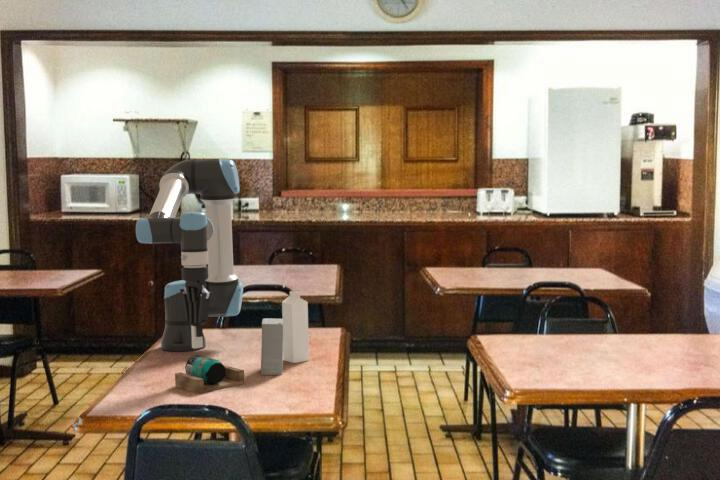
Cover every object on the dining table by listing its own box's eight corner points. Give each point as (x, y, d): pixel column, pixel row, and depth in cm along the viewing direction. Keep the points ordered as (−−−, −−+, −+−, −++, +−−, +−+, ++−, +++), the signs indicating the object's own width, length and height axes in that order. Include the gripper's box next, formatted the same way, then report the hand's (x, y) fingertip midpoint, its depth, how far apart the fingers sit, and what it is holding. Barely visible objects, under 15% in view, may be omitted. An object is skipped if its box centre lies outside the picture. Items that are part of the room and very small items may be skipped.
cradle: (175, 386, 246) (175, 373, 246) (221, 376, 257) (220, 364, 257) (198, 393, 238) (197, 380, 238) (244, 383, 249) (244, 370, 249)
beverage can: (208, 367, 256) (231, 374, 247) (191, 383, 252) (214, 390, 243) (197, 349, 253) (220, 355, 244) (179, 365, 249) (202, 371, 240)
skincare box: (261, 369, 266) (259, 318, 265) (284, 368, 267) (283, 317, 265) (260, 375, 258) (259, 322, 256) (284, 375, 258) (283, 322, 257)
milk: (293, 363, 274) (291, 294, 272) (283, 360, 278) (281, 292, 276) (309, 360, 277) (307, 292, 275) (299, 357, 282) (297, 290, 280)
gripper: (171, 265, 251) (173, 346, 253) (196, 268, 242) (198, 352, 244) (193, 263, 256) (195, 342, 258) (218, 266, 247) (221, 348, 249)
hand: (197, 347), depth 251 cm, fingers closed
